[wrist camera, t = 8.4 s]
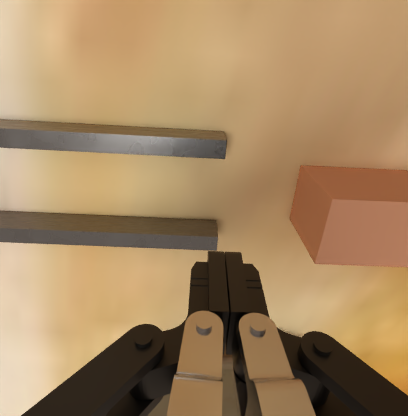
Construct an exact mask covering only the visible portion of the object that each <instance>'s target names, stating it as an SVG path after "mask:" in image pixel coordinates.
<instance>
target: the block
mask: <svg viewBox="0 0 408 416" xmlns="http://www.w3.org/2000/svg"><path fill="white" fill-rule="evenodd" d="M290 220H291V222H292V224H293V225H294V227H295V229H296V231H297V233H298V234H299V236H300V238H301V240H302V242H303V243H304V245H305V247H306V249H307V251H308V252H309V254H310V256H311V258H312V259H313V261H314V263H315V264H332V265H360V266H388V267H408V171H407V170H389V169H367V168H345V167H324V166H302V165H301V167H300V172H299V176H298V181H297V186H296V191H295V196H294V200H293V205H292V210H291V215H290Z"/></svg>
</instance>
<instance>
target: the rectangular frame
mask: <svg viewBox="0 0 408 416" xmlns="http://www.w3.org/2000/svg"><path fill="white" fill-rule="evenodd" d="M226 143H227V140H226V137H225V134H224V132H223V131H205V130H186V129H168V128H150V127H131V126H113V125H95V124H76V123H58V122H40V121H21V120H3V119H0V147H1V148H20V149H40V150H59V151H79V152H98V153H118V154H137V155H157V156H176V157H196V158H215V159H225V154H226ZM217 241H218V233H217V223H216V220H197V219H174V218H151V217H128V216H105V215H82V214H59V213H36V212H13V211H0V242H13V243H38V244H63V245H88V246H113V247H138V248H163V249H188V250H214V251H217Z"/></svg>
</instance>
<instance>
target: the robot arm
mask: <svg viewBox="0 0 408 416" xmlns="http://www.w3.org/2000/svg"><path fill="white" fill-rule="evenodd" d="M225 350H226V354H227V355H232V358H233V368H232V379H233V386H234V392H235V399H236V405H237V412H238V416H408V395H406V394H405V393H404V392H402V391H401V390H400V389H398V388H397V387H396V386H394V385H393V384H392V383H391V382H389V381H388V380H387V379H385V378H384V377H383V376H381V375H380V374H379V373H378V372H376V371H375V370H374V369H372V368H371V367H370V366H368V365H367V364H366V363H365V362H363V361H362V360H361V359H359V358H358V357H357V356H355V355H354V354H353V353H352V352H350V351H349V350H348V349H346V348H345V347H344V346H342V345H341V344H340V343H339V342H337V341H336V340H335V339H333V338H332V337H330V336H329V335H327V334H325V333H322V332H317V331H312V332H308V333H306V334H304V336H303V337H302V338H300V337H297V336H294V335H291V334H288V333H285V332H283V331H281V330H280V329H278V328H277V327H276V325H275V323H274V322H273V321H272V320H271V319H270V317H269V314H268V310H267V306H266V301H265V297H264V293H263V289H262V284H261V280H260V276H259V272H258V270H257V269H256V268H255V267H254V266H253V264H243V261H242V255H241V252H225V254H224V252H218V251H208V261H207V262H196V263H195V265H194V266H193V267H192V269H191V281H190V295H189V309H188V316H187V318H186V320H185V321H184V322H183V323H182V324H181V325H180V326H178V327H176V328H174V329H170V330H167V331H163V332H162V331H161V330H160V329H159V328H158V327H156V326H154V325H151V324H142V325H138V326H135V327H133V328H132V329H130V330H129V331H128V332H127V333H125V334H124V335H123V336H122V337H120V338H119V339H118V340H116V341H115V342H114V343H113V344H111V345H110V346H109V347H108V348H106V349H105V350H104V351H103V352H101V353H100V354H99V355H97V356H96V357H95V358H94V359H92V360H91V361H90V362H89V363H87V364H86V365H85V366H84V367H82V368H81V369H80V370H78V371H77V372H76V373H75V374H73V375H72V376H71V377H70V378H68V379H67V380H66V381H65V382H63V383H62V384H61V385H59V386H58V387H57V388H56V389H54V390H53V391H52V392H51V393H49V394H48V395H47V396H46V397H44V398H43V399H42V400H40V401H39V402H38V403H37V404H35V405H34V406H33V407H32V408H30V409H29V410H28V411H26V412H25V413H24V414H23V415H21V416H148V414H149V413H150V412H151V411H152V410H153V409H154V408H155V407H156V406H157V404H158V403H159V402H160V401H161V400H162V398H163V396H164V395H168V394H171V395H170V400H169V406H168V411H167V416H222V392H223V380H222V355H223V354H224V351H225Z"/></svg>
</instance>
